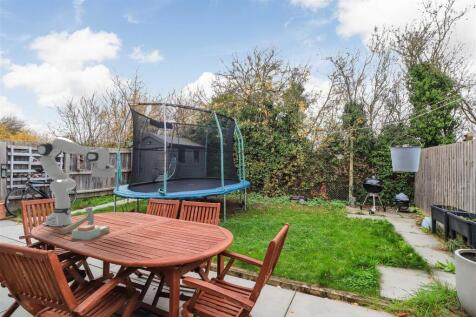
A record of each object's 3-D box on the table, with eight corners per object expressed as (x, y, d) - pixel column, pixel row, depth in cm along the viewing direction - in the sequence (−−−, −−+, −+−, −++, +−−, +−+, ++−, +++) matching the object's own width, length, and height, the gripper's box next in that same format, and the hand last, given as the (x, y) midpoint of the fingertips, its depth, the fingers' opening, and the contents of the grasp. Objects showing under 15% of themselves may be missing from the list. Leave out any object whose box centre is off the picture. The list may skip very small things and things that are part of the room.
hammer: (64, 222, 217) (93, 206, 245) (59, 221, 218) (88, 206, 247) (68, 241, 221) (95, 224, 249) (62, 240, 222) (91, 223, 250)
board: (83, 234, 220) (83, 229, 220) (93, 230, 232) (93, 225, 232) (99, 235, 218) (99, 230, 218) (109, 231, 230) (109, 226, 230)
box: (71, 238, 209) (71, 230, 209) (83, 234, 220) (83, 226, 220) (89, 240, 206) (89, 231, 206) (99, 235, 218) (100, 227, 218)
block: (86, 233, 218) (77, 237, 210) (86, 224, 218) (77, 227, 210) (94, 234, 217) (86, 237, 208) (94, 225, 217) (86, 228, 208)
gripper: (89, 166, 245) (89, 182, 245) (112, 166, 241) (111, 183, 241) (94, 165, 251) (94, 181, 251) (116, 166, 248) (116, 182, 248)
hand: (103, 182), depth 246 cm, fingers closed
